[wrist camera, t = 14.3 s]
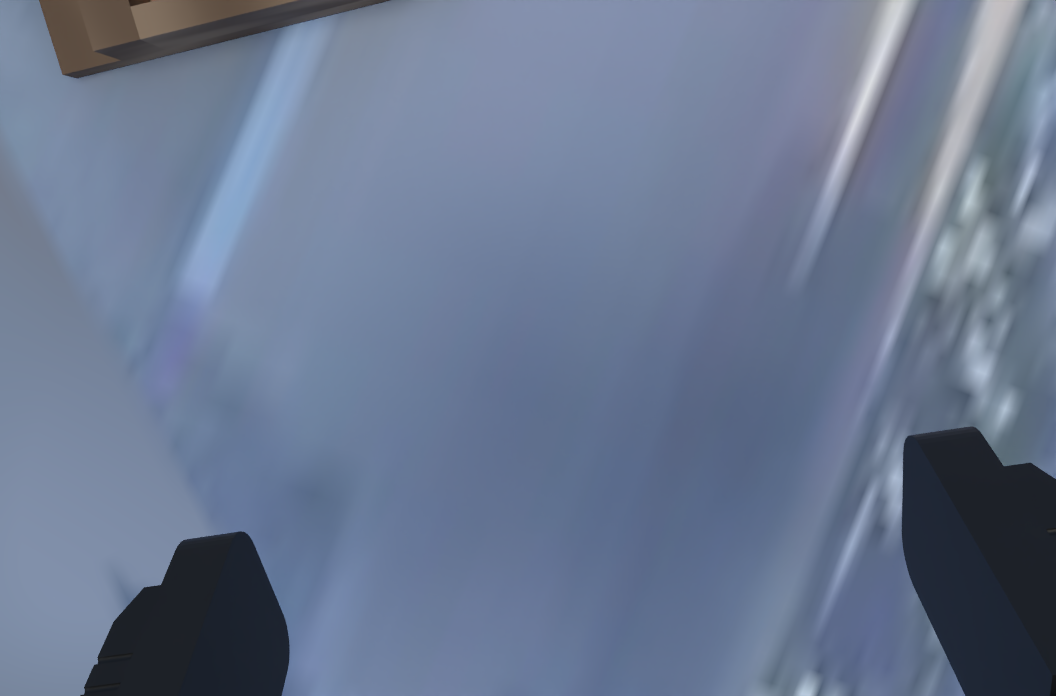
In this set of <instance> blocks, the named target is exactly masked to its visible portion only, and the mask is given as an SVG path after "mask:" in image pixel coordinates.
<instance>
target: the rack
mask: <svg viewBox="0 0 1056 696" xmlns="http://www.w3.org/2000/svg"><path fill="white" fill-rule="evenodd" d="M385 1H389V0H39V2H40V5H41V8H42V11H43V14H44V17H45V21H46V24H47V27H48V30H49V33H50V36H51V39H52V43H53V46H54V49H55V52H56V55H57V58H58V61H59V65H60V68H61V71H62V74H63V75H66V76H70V77H74V78H79V77H83V76H87V75H91V74H95V73H99V72H103V71H107V70H112V69H116V68H120V67H124V66H128V65H132V64H136V63H140V62H144V61H148V60H152V59H156V58H160V57H164V56H168V55H172V54H176V53H180V52H184V51H188V50H192V49H196V48H200V47H204V46H208V45H212V44H216V43H220V42H224V41H228V40H232V39H236V38H240V37H244V36H248V35H252V34H256V33H261V32H265V31H269V30H273V29H277V28H281V27H285V26H289V25H293V24H297V23H301V22H305V21H309V20H313V19H317V18H321V17H325V16H329V15H333V14H337V13H341V12H345V11H349V10H353V9H357V8H361V7H365V6H369V5H373V4H377V3H381V2H385Z"/></svg>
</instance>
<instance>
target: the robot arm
mask: <svg viewBox="0 0 1056 696" xmlns="http://www.w3.org/2000/svg"><path fill="white" fill-rule="evenodd" d="M902 542H903V550H904V555H905V560H906V564H907V568H908V572H909V575H910V578H911V581H912V583H913V586H914V588H915V590H916V592H917V594H918V597H919V599H920V601H921V603H922V605H923V607H924V609H925V611H926V613H927V616H928V618H929V620H930V622H931V624H932V626H933V628H934V630H935V632H936V635H937V637H938V639H939V641H940V643H941V645H942V647H943V649H944V651H945V654H946V656H947V658H948V660H949V662H950V664H951V666H952V668H953V670H954V673H955V675H956V677H957V679H958V681H959V683H960V685H961V687H962V689H963V692H964V694H965V696H1056V479H1055V478H1053V477H1051V476H1050V475H1048V474H1047V473H1045V472H1044V471H1042V470H1041V469H1039V468H1038V467H1036V466H1035V465H1033V464H1032V463H1025V464H1018V465H1011V466H1003V465H1002V463H1001V462H1000V460H999V459H998V457H997V456H996V454H995V453H994V451H993V450H992V448H991V447H990V446H989V444H988V443H987V441H986V440H985V438H984V437H983V435H982V434H981V433H980V431H979V430H978V429H977V428H975V427H964V428H957V429H951V430H944V431H937V432H930V433H923V434H916V435H910V436H908V437H907V438H906V440H905V443H904V452H903V501H902ZM288 665H289V636H288V630H287V625H286V621H285V618H284V615H283V613H282V610H281V608H280V606H279V603H278V601H277V598H276V596H275V594H274V591H273V589H272V586H271V584H270V582H269V579H268V577H267V574H266V572H265V570H264V567H263V565H262V563H261V560H260V558H259V555H258V553H257V551H256V548H255V546H254V544H253V542H252V540H251V538H250V537H249V536H248V534H247V533H245V532H234V533H227V534H221V535H214V536H207V537H200V538H193V539H187V540H183V541H182V542H181V543H180V544H179V545H178V546H177V549H176V550H175V553H174V555H173V558H172V560H171V562H170V565H169V567H168V570H167V572H166V574H165V577H164V579H163V582H162V584H161V585H158V586H151V587H144V588H143V589H142V591H141V592H140V593H139V594H138V595H137V596H136V597H135V598H134V599H133V601H132V602H131V603H130V604H129V605H128V606H127V607H126V608H125V610H124V611H123V612H122V613H121V614H120V615H119V616H118V617H117V619H116V620H115V621H114V622H113V624H112V627H111V629H110V631H109V633H108V636H107V638H106V640H105V642H104V645H103V647H102V649H101V651H100V653H99V655H98V664H97V665H94V667H93V669H92V671H91V673H90V675H89V678H88V680H87V682H86V684H85V687H84V688H85V694H84V695H81V696H281V695H282V691H283V687H284V683H285V679H286V675H287V670H288Z"/></svg>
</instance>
